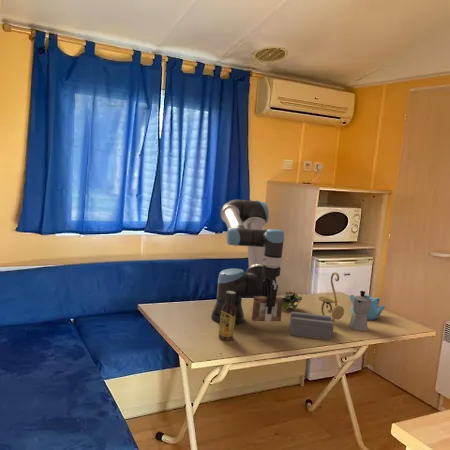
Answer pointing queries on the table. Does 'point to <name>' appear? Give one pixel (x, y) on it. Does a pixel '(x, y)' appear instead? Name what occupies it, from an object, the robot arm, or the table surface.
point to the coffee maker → (360, 312)
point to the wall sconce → (337, 310)
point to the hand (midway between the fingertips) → (266, 319)
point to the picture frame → (260, 309)
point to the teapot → (371, 308)
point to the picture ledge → (311, 325)
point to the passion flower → (290, 300)
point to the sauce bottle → (228, 317)
